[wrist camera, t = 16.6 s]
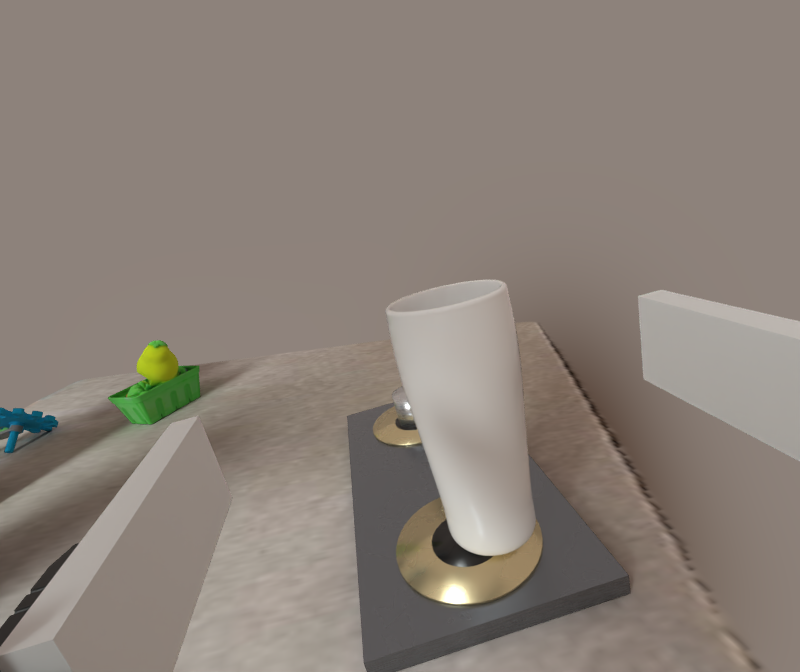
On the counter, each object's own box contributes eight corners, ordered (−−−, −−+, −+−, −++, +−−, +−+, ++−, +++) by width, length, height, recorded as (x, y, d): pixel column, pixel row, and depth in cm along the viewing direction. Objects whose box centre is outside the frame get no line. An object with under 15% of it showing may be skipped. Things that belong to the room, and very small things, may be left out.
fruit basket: (183, 392, 75) (157, 331, 72) (217, 392, 71) (191, 327, 68) (119, 428, 66) (86, 359, 63) (154, 430, 62) (120, 357, 58)
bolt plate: (350, 425, 48) (339, 389, 47) (470, 390, 49) (462, 355, 48) (370, 680, 22) (346, 613, 20) (630, 593, 23) (622, 524, 21)
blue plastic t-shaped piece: (73, 415, 72) (3, 398, 64) (64, 451, 69) (-10, 438, 61) (30, 430, 75) (-42, 415, 67) (19, 464, 73) (-57, 454, 64)
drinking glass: (437, 503, 31) (387, 297, 27) (533, 486, 30) (495, 273, 26) (442, 580, 24) (377, 322, 21) (566, 560, 24) (521, 290, 20)
